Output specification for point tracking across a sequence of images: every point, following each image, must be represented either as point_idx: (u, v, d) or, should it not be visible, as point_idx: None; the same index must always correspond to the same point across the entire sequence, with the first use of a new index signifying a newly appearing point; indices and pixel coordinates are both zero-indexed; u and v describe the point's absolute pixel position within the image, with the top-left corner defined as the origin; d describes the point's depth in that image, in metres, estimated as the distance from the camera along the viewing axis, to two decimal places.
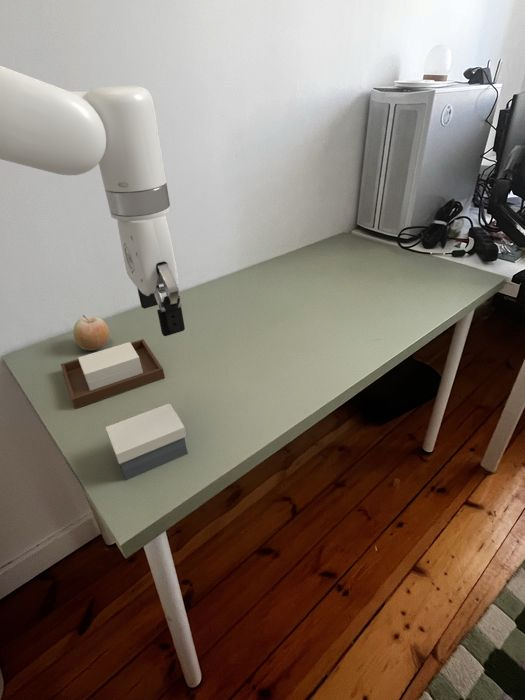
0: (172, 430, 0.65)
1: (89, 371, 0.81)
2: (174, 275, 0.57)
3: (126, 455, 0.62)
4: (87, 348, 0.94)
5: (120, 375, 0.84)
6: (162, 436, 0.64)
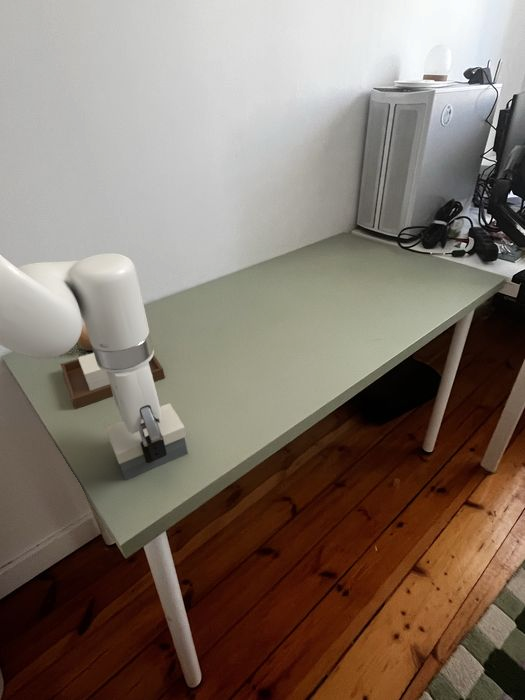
0: (172, 430, 0.65)
1: (89, 371, 0.81)
2: (157, 413, 0.60)
3: (126, 455, 0.62)
4: (87, 348, 0.94)
5: None
6: None
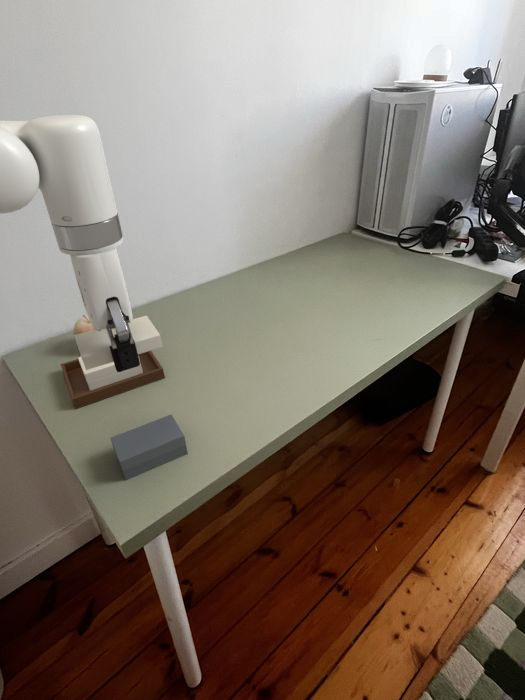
0: (147, 337, 0.59)
1: (89, 371, 0.81)
2: (126, 310, 0.54)
3: (94, 360, 0.56)
4: None
5: (120, 375, 0.84)
6: None
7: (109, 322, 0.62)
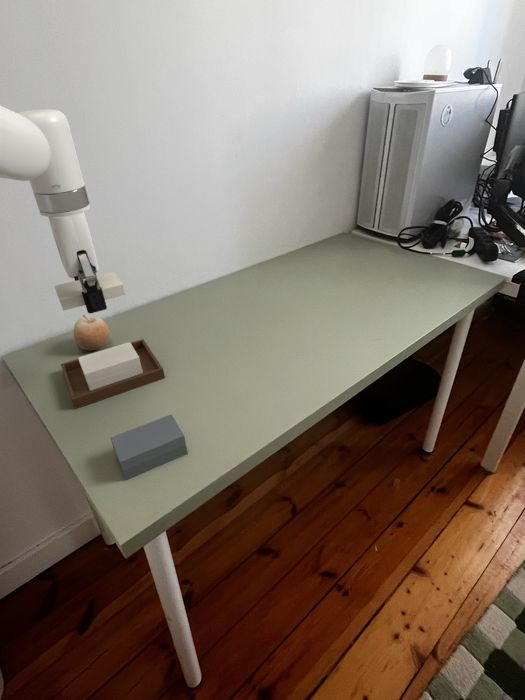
0: (112, 286, 0.75)
1: (89, 371, 0.81)
2: (93, 261, 0.69)
3: (69, 302, 0.72)
4: (87, 348, 0.94)
5: (120, 375, 0.84)
6: (102, 289, 0.74)
7: (82, 276, 0.78)
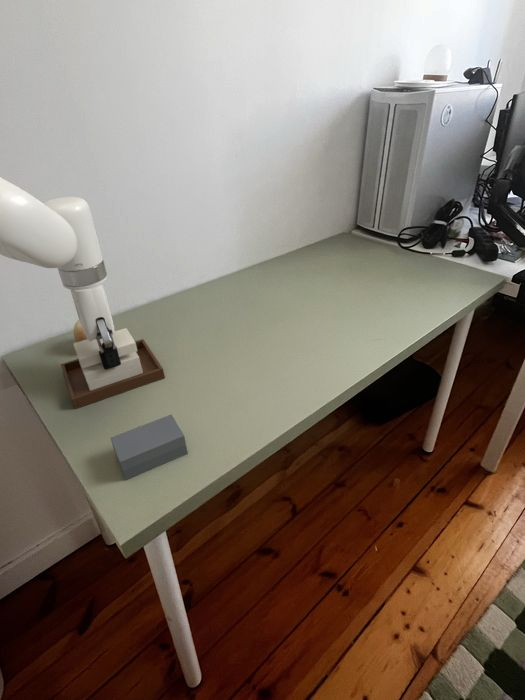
0: (125, 344, 0.82)
1: (89, 371, 0.81)
2: (110, 326, 0.77)
3: (88, 361, 0.80)
4: None
5: (120, 375, 0.84)
6: None
7: (98, 333, 0.85)
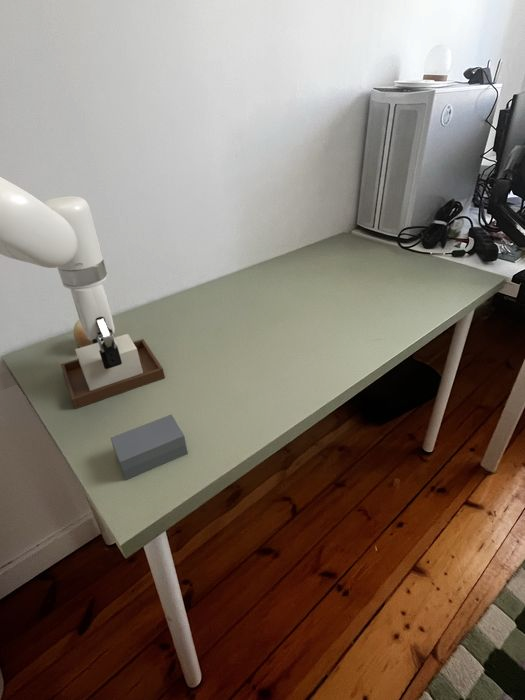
0: (127, 350, 0.83)
1: None
2: (110, 325, 0.77)
3: (89, 367, 0.80)
4: None
5: (120, 375, 0.84)
6: None
7: None
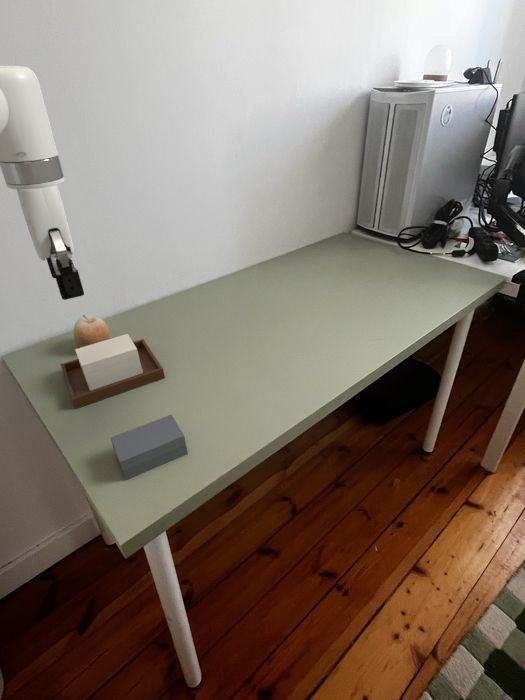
0: (127, 350, 0.83)
1: None
2: (68, 241, 0.62)
3: (89, 367, 0.80)
4: None
5: (120, 375, 0.84)
6: (118, 354, 0.82)
7: None
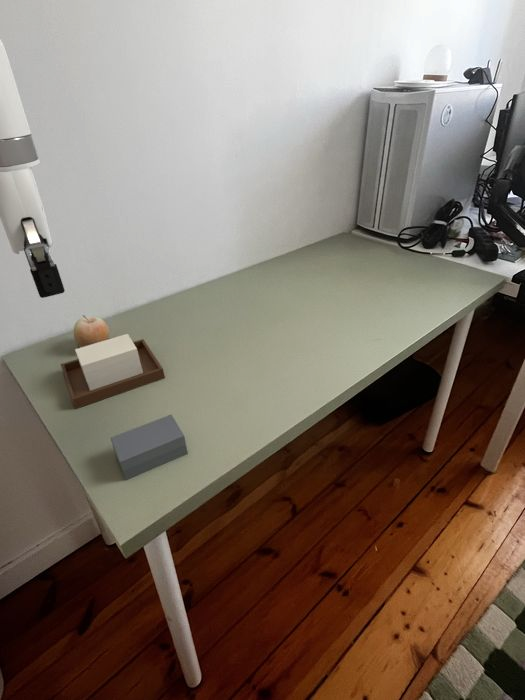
0: (127, 350, 0.83)
1: None
2: (44, 232, 0.55)
3: (89, 367, 0.80)
4: None
5: (120, 375, 0.84)
6: (118, 354, 0.82)
7: None
